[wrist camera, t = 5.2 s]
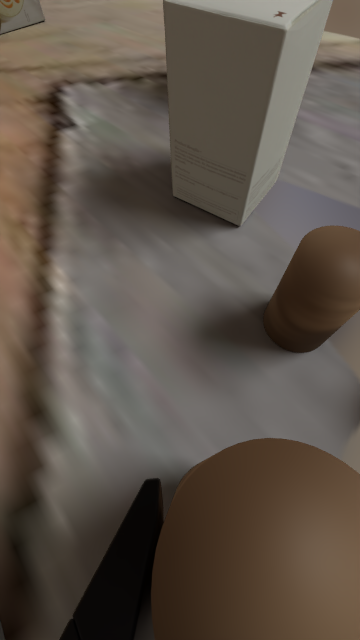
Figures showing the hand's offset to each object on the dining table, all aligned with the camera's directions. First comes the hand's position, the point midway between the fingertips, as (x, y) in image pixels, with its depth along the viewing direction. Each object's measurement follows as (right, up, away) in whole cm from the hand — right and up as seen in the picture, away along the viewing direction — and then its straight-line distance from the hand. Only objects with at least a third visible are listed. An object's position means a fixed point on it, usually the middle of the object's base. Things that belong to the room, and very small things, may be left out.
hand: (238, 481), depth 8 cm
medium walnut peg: (+6, +4, +12) cm, 14 cm away
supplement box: (+3, +17, +19) cm, 25 cm away
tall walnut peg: (0, -4, +5) cm, 7 cm away
